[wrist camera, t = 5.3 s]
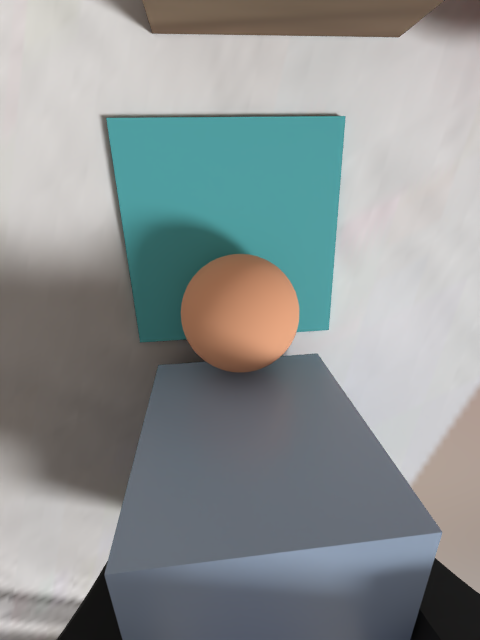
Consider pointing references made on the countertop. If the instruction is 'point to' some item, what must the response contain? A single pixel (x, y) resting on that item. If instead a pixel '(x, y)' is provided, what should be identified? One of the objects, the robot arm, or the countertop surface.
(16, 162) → the countertop surface
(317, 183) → the mark
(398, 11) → the brown cuboid
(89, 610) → the robot arm
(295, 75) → the countertop surface
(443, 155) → the countertop surface
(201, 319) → the egg
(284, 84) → the countertop surface
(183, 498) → the matte gray cuboid
